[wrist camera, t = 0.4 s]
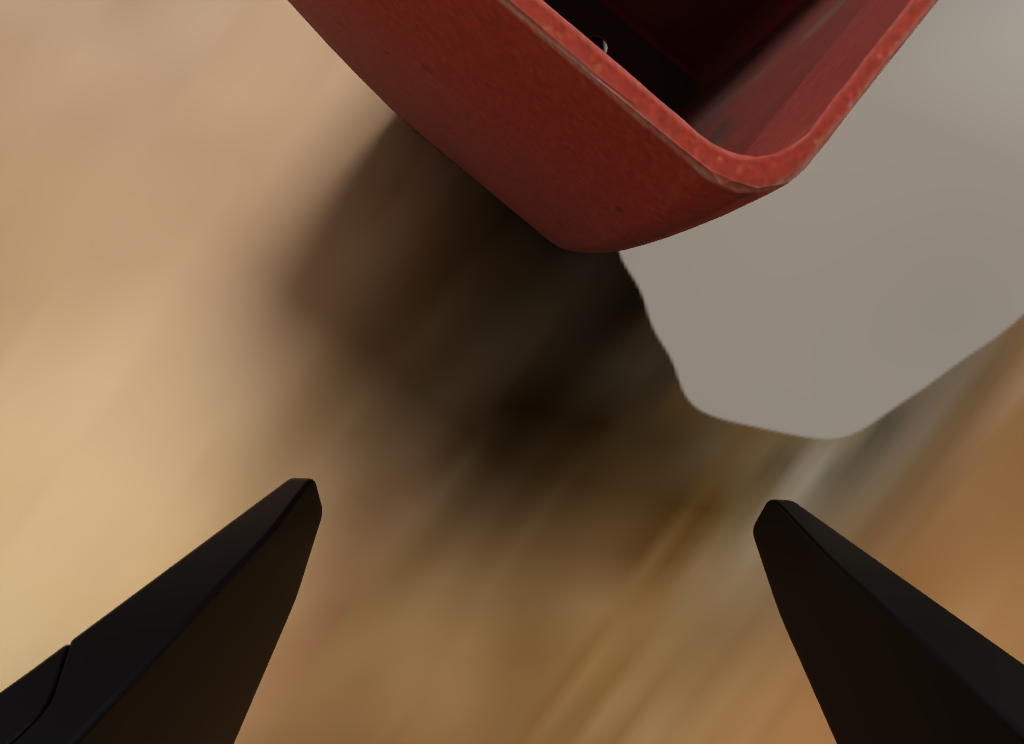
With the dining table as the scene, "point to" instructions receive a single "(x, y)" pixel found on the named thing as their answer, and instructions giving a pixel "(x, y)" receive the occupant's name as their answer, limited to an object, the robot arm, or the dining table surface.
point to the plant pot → (620, 97)
